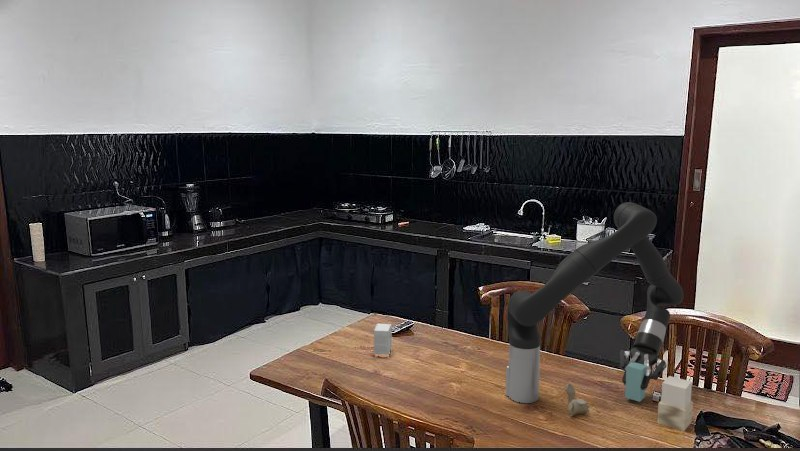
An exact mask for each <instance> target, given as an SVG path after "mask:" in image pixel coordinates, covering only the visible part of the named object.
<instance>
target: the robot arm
mask: <svg viewBox="0 0 800 451" xmlns="http://www.w3.org/2000/svg"><path fill="white" fill-rule="evenodd" d="M657 221H658V218H657V215H656V214H655V213H654V212H653V211H652V210H650V209H649V208H647V207H644V206H642V205H639V204H637V203H635V202H630V201H628V202H623V203H620V204H619V205H618V206H617V207H616V208H615V211H614V212H613V222H614V224H615V226H616V227H617V230H616V231H614V232H613V233H611V234H609V235H607V236H605V237H603V238H600V239H595V240H593V241H590V242H587V243H585V244H582V245H581V246H579V247H576V248H575V249H574V250H572V251H571V253H570V254H569V255H567V256H566V257H565V258H564V259H563V260H561V262H560V263H559V264H558V265H557V267H556V268H555V270H554V272H553V273H552V275H551V276H550V278H549V279H548V281H547V282H546V283H544V284H543V285H542V286H541V287H540V288H538V289H537V290H535V291H534V292H530V291H529V290H528V291H527V290H518V291H515V292H514V293H513V294H511V296H510V297H509V299H508V302H507V311H506V313H507V314H506V315H507V317H506V318H507V319H506V320H507V334H508V339H509V340H508V341H509V343H508V344H509V345H508V346H509V347H508V350H509V351H508V352H509V354H508V365H507V366H506V368H505V396H506V397H508V396H509V397H508V398H509V399H510V398H511V399H510V400H512V401H513V400H514V402H515V403H516V402H517V403H519V402H520V404H532V403H535V402H537V401H538V400H539V398H540V365H541V364H540V363H541V362H540V361H541V359H540V357H541V336H540V333H539V329H538V325H537V324H539V323H541V322H542V320H544V319H545V318H546V317H547V316H548V315H549V314H550V313H551V312H552V311H553V310H555V308H556V307H557V306H558V305H559V304H560V303H561V302H562V301H563V300H564V299H565V298H567V297H568V296H570V295H571V294H572V293H573V292H575V291H576V290H577V289H579V287H581V286H583V284H585V283H586V282H587V281H589V280H590V279H591V278H593V277H594V276H595V275H596V274H598V273H599V272H600V271H601V270H602V269H603V268H604V267H605V266H607V265H608V264H609V263H611V262H612V261H614V259H616V258H618V257H619V256H620V255H621V254H623V253H624V252H625V251H628V250H629V249H631V250H632V252H633V254H634V256H635V258H636V259H637V262H638V265H639V266H640V268H641V271H642V272H643V274H644V277H645V280H646V282H647V283H648V284H649V286H648V287H647V292H646V295H647V297H646V299H647V302H646V312H645V314H644V316H643V318H642V319H643V320H642V322H641V324H640V326H639V328H638V331H637V334H636V337H635V340H634V343H633V345H632V348H631V349H630V350H628V351H627V350H626V351H625V350H624V349H621V350H620V351H619V367H620V369H621V371H623V372H624V373H623V375H622V378H621V381H622V382H623V385H624V386H625V385H626V368H627V365H629V364H630V363H631V362H632V363H634V362H635V363H639V364H643V365H645V366H646V371H645V376H644V377H643V380H642V383H641V386H640V388H641V390H644V389H646V390H647V388H648V386H649V384H650V380H658V379H659V377H660V376H661V375H662V373H663V372H664V371H665V369H666V368H667V366H668V364H667V362H666V360H664V359H660V358H659V355H660V353H661V352H660V351H661V349H662V347H663V343H664V341H665V336H666V330H667V328H668V325H669V321H670V319H671V313H670V311H669V310H668V309H667V308H666V307H663V306H664V305H665V306H666V305H667V306H678V305H680V304H681V303H682V302H683V300H684V290H683V288H682V286H681V284H680V282H679V281H677V279H675V277H674V276H673V275H672V274H671V273H670V272H669V269H668V267H667V265H666V262H665V260H664V257H663V255H661V254H660V252H659V250H658V249H657V247H655V245H654V244H653V243H652V241H651V240H650V238H649V237H648V236H649V235H650V234H652V232H653V231H654V230H655V228H656V226H657ZM661 305H663V306H661ZM629 356H630V358H631V359H630V360H629V362H628V364H627V359H628V358H629ZM654 365H657V366H656V367H655V369H653V371H652V367H653V366H654Z"/></svg>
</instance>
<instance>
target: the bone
mask: <svg viewBox="0 0 800 451" xmlns="http://www.w3.org/2000/svg"><path fill="white" fill-rule="evenodd" d="M565 392H566V394H567V400H568V401H567V402H568V404H567V411H568V413H569V414H570V415H569V417H573V416H576V415H578V414H584V415H585V414H588V413H590V408H589V407H590V404H588V402H587V401H585V400H584V399H583V398H577V399H575V396H576V395H575V394H576V390H575V387H574V386H573V384H572V383H570V382H568V383H566V387H565Z"/></svg>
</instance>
